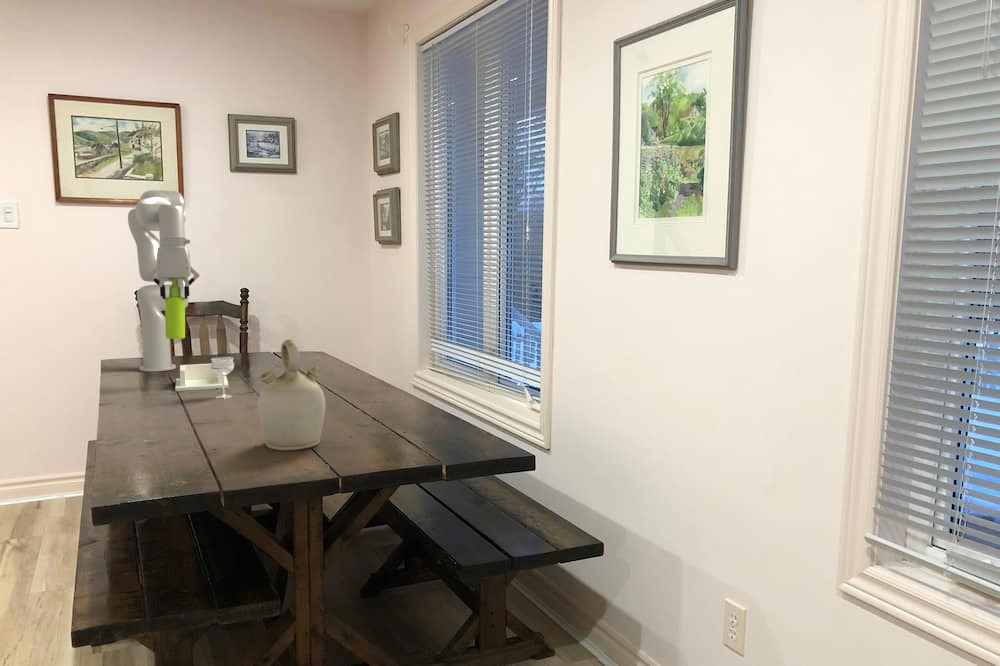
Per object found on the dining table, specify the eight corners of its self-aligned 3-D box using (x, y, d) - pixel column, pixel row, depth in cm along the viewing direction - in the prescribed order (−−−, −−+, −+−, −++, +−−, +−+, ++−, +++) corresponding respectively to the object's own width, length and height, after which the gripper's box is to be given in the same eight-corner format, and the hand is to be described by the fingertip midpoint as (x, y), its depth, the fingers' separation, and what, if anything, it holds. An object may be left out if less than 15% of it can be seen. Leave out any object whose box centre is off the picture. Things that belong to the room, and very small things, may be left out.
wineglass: (220, 400, 225) (218, 360, 224) (207, 397, 230) (206, 358, 228) (240, 396, 231) (238, 358, 229) (227, 393, 235) (225, 356, 233)
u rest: (176, 381, 255) (175, 364, 254) (226, 378, 261) (225, 361, 260) (175, 391, 239) (174, 372, 238) (228, 387, 245) (227, 369, 244)
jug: (258, 455, 167) (254, 344, 164) (260, 438, 182) (256, 336, 179) (328, 450, 171) (325, 342, 168) (324, 434, 186) (322, 334, 183)
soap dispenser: (183, 339, 242) (182, 277, 239) (162, 338, 242) (161, 276, 240) (191, 337, 247) (191, 277, 245) (171, 336, 248) (170, 276, 245)
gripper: (201, 243, 247) (203, 297, 249) (144, 242, 241) (147, 298, 243) (201, 243, 240) (203, 299, 242) (142, 243, 234) (144, 300, 236)
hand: (175, 298), depth 243 cm, fingers closed on soap dispenser, 5 cm apart
